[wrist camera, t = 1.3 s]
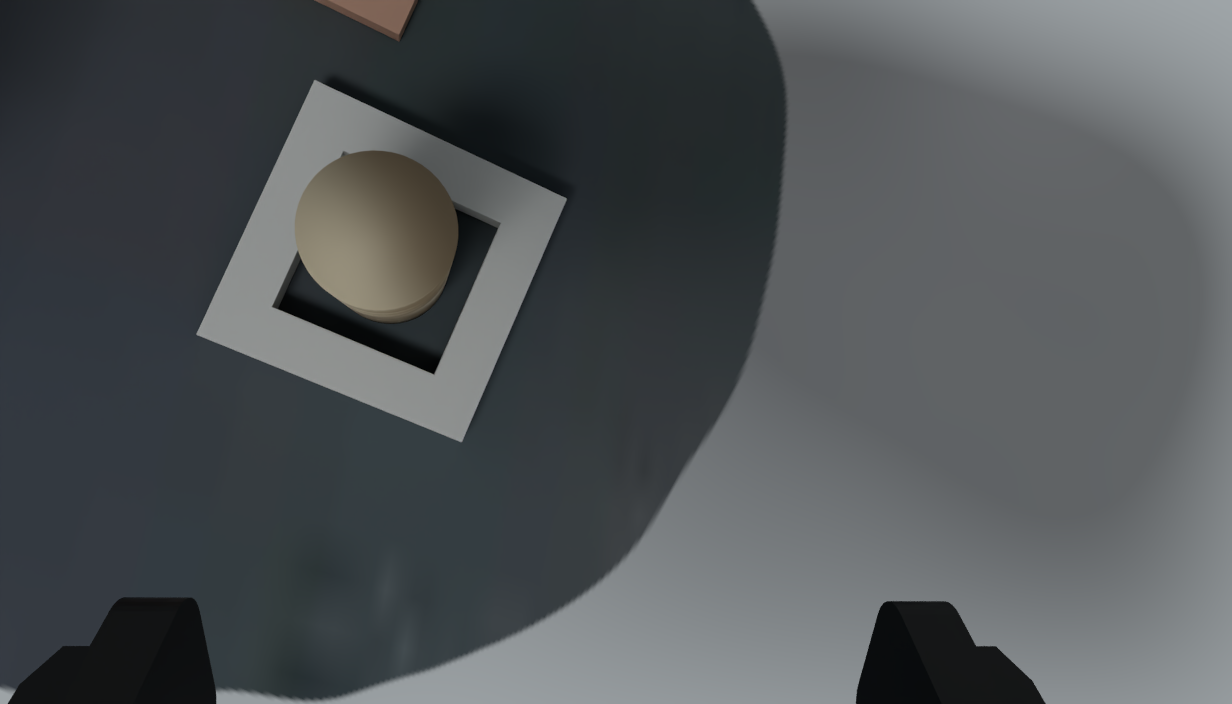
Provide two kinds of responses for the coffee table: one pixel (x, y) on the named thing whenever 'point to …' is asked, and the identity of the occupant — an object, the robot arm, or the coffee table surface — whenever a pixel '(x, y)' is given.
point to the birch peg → (378, 234)
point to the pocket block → (345, 365)
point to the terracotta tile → (377, 13)
